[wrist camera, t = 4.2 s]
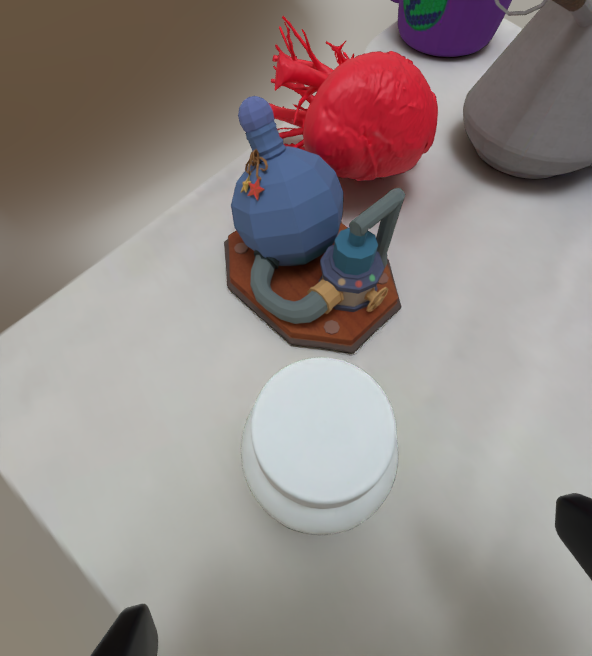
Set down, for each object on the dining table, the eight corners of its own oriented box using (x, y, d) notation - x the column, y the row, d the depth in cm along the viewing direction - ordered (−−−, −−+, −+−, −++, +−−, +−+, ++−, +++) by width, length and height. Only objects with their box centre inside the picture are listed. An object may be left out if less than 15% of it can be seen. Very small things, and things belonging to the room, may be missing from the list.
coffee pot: (493, 95, 34) (611, -171, 21) (616, 147, 30) (854, -141, 17) (348, 210, 27) (395, -93, 14) (486, 298, 23) (734, -9, 10)
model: (198, 260, 25) (150, 128, 17) (296, 195, 28) (295, 58, 20) (325, 379, 20) (343, 278, 12) (424, 286, 24) (490, 157, 15)
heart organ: (514, 34, 20) (412, 73, 30) (307, -37, 17) (273, 33, 27) (451, 217, 24) (380, 196, 34) (275, 185, 21) (256, 172, 32)
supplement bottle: (338, 404, 20) (367, 311, 12) (386, 505, 17) (468, 479, 9) (245, 443, 19) (202, 371, 11) (282, 555, 16) (265, 578, 8)
